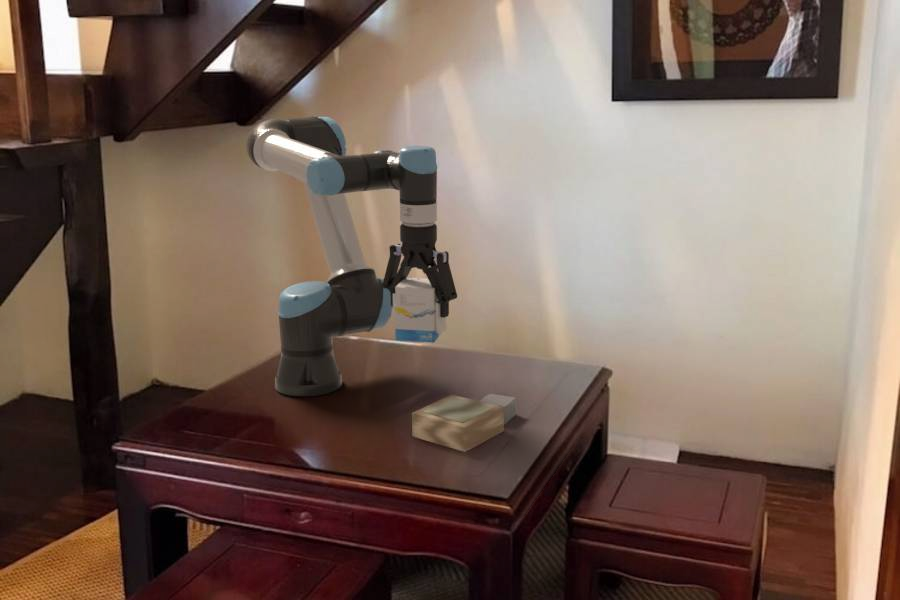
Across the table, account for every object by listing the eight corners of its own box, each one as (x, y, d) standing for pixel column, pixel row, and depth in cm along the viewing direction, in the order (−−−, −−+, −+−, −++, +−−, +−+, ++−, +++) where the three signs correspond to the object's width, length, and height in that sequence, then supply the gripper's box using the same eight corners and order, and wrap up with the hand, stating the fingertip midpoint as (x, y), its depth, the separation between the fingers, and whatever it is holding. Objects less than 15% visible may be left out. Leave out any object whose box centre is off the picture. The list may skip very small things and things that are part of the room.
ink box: (434, 343, 204) (434, 288, 201) (394, 340, 206) (393, 286, 203) (443, 331, 212) (443, 278, 209) (405, 329, 214) (404, 276, 211)
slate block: (477, 420, 206) (477, 402, 205) (489, 411, 211) (489, 393, 210) (504, 425, 203) (504, 406, 202) (515, 415, 209) (515, 397, 208)
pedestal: (412, 436, 198) (411, 411, 196) (452, 417, 208) (451, 393, 206) (465, 451, 190) (464, 426, 189) (503, 431, 200) (503, 406, 199)
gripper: (363, 219, 207) (366, 321, 213) (452, 232, 193) (452, 341, 199) (387, 214, 213) (389, 313, 218) (475, 226, 199) (474, 332, 205)
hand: (419, 326), depth 209 cm, fingers closed on ink box, 11 cm apart
